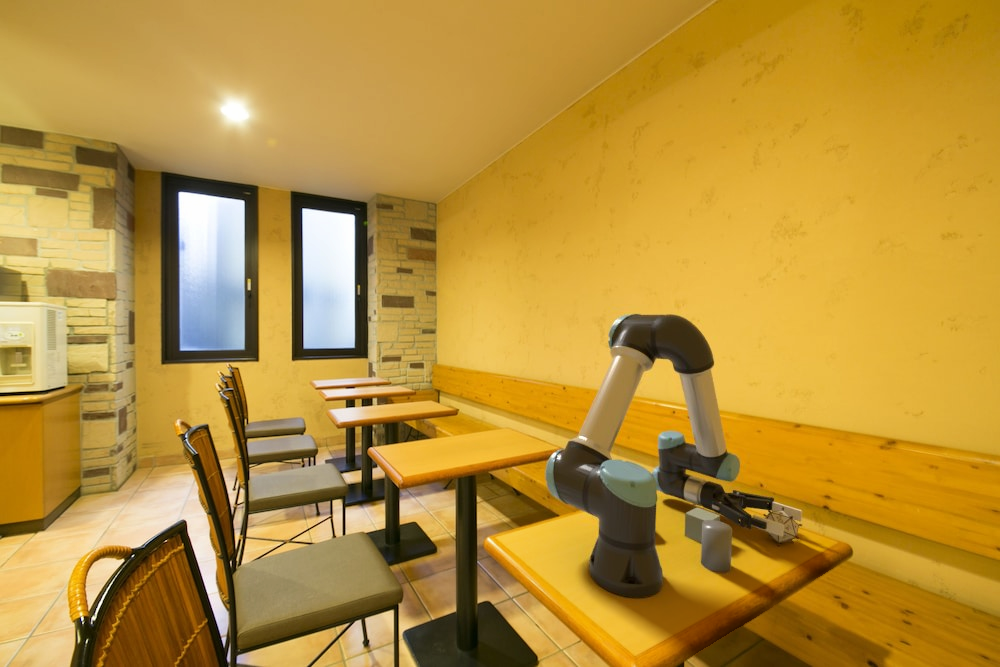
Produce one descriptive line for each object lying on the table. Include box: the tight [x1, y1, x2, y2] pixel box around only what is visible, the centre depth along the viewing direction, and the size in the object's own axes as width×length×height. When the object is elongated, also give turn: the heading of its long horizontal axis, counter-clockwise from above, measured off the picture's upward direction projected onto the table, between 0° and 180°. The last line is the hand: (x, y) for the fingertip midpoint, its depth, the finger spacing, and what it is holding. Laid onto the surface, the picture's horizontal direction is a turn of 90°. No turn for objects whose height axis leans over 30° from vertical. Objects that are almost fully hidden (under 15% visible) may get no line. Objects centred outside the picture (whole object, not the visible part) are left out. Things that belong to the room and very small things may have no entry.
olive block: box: [684, 507, 721, 544], centre depth 108 cm, size 6×6×6 cm
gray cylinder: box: [700, 520, 733, 574], centre depth 96 cm, size 6×6×9 cm
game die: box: [763, 507, 803, 547], centre depth 107 cm, size 9×8×10 cm
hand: (792, 523), depth 104 cm, fingers open, 12 cm apart
